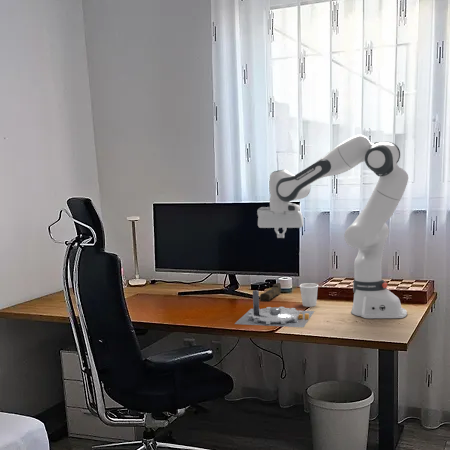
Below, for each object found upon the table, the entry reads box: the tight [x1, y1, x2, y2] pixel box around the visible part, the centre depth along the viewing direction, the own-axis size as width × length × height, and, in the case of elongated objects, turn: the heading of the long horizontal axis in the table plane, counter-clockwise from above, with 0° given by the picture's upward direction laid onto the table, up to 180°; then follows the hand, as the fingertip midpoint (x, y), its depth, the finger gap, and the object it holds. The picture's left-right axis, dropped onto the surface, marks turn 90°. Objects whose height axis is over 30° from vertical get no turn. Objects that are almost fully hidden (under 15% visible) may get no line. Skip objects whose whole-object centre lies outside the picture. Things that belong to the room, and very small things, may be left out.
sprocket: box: [248, 289, 304, 324], centre depth 239 cm, size 23×23×12 cm
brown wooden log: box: [259, 282, 282, 303], centre depth 281 cm, size 23×5×6 cm, turn 153°
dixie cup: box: [299, 282, 319, 308], centre depth 258 cm, size 8×8×10 cm
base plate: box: [234, 308, 315, 328], centre depth 240 cm, size 28×25×3 cm
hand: (280, 237), depth 259 cm, fingers closed
